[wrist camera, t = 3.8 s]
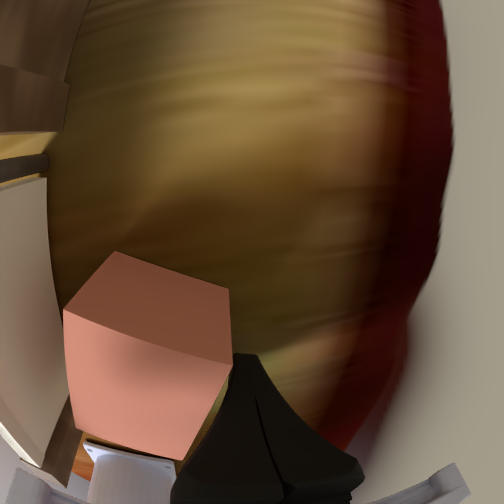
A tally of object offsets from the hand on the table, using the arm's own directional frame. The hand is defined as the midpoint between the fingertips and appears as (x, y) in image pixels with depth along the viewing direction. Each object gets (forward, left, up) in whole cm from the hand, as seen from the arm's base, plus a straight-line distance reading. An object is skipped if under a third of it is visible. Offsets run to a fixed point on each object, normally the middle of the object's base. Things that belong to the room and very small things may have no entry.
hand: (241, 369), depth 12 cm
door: (+2, +10, -1) cm, 10 cm away
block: (0, +4, -1) cm, 4 cm away
